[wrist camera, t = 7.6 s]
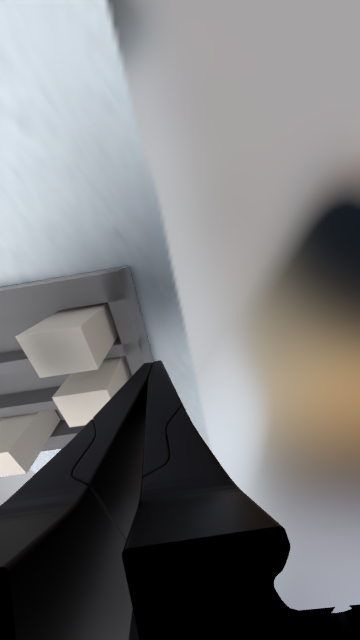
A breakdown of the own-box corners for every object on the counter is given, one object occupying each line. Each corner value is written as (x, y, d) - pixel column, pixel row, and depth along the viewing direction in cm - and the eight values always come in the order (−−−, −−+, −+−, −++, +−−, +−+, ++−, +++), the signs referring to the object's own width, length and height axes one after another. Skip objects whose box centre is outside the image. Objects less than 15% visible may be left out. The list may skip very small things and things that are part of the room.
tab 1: (60, 419, 21) (26, 473, 16) (27, 424, 21) (-16, 479, 16) (48, 400, 20) (7, 451, 15) (13, 405, 20) (-39, 458, 15)
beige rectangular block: (133, 374, 19) (119, 420, 14) (96, 379, 19) (69, 427, 14) (125, 348, 17) (106, 389, 13) (85, 354, 18) (51, 397, 13)
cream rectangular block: (119, 332, 17) (97, 369, 12) (78, 338, 17) (39, 378, 12) (109, 300, 15) (80, 326, 11) (64, 307, 16) (15, 336, 11)
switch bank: (165, 407, 23) (164, 435, 20) (17, 428, 24) (-9, 460, 20) (128, 265, 16) (117, 271, 13) (-83, 300, 16) (-149, 315, 13)
